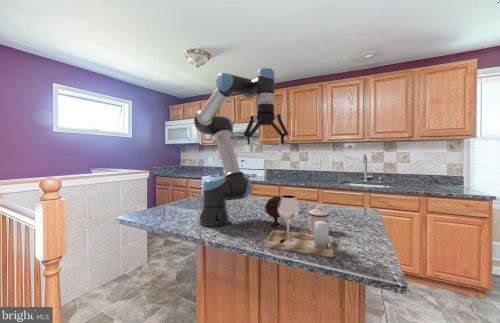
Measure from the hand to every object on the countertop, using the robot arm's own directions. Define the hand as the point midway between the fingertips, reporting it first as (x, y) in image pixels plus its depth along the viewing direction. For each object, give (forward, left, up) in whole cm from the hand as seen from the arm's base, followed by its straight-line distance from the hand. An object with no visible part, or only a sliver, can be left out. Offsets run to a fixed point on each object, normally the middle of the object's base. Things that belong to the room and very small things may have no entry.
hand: (265, 151), depth 101 cm
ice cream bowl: (+3, +10, -37) cm, 38 cm away
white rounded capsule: (+25, -12, -36) cm, 45 cm away
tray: (+17, -12, -37) cm, 42 cm away
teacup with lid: (+23, +9, -37) cm, 44 cm away
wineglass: (+13, -12, -36) cm, 40 cm away
